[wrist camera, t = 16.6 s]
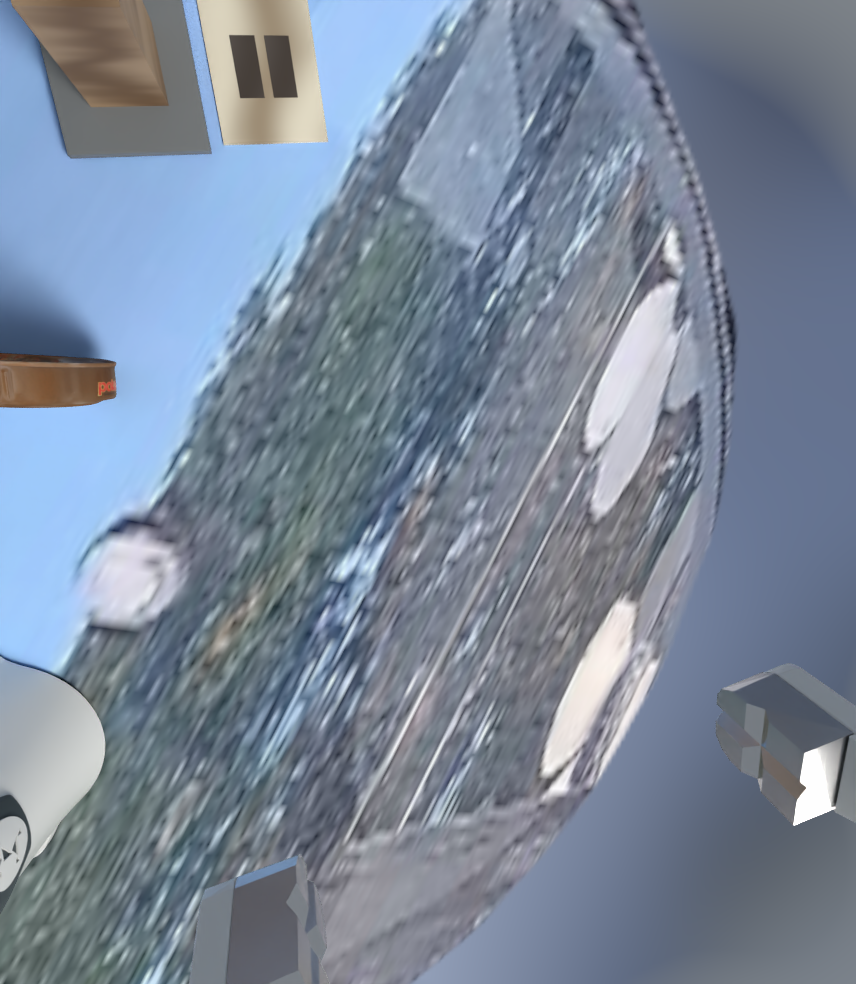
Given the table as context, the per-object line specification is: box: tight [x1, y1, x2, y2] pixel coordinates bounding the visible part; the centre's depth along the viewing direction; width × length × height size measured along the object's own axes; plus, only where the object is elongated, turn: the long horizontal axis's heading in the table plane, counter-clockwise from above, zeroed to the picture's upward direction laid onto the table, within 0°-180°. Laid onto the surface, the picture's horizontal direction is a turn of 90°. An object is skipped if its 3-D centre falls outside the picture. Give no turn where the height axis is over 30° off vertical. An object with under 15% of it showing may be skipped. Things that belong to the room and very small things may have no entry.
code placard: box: [197, 0, 328, 145], centre depth 34 cm, size 7×9×1 cm
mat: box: [39, 0, 212, 158], centre depth 32 cm, size 9×10×1 cm
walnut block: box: [11, 0, 169, 107], centre depth 28 cm, size 5×5×9 cm
